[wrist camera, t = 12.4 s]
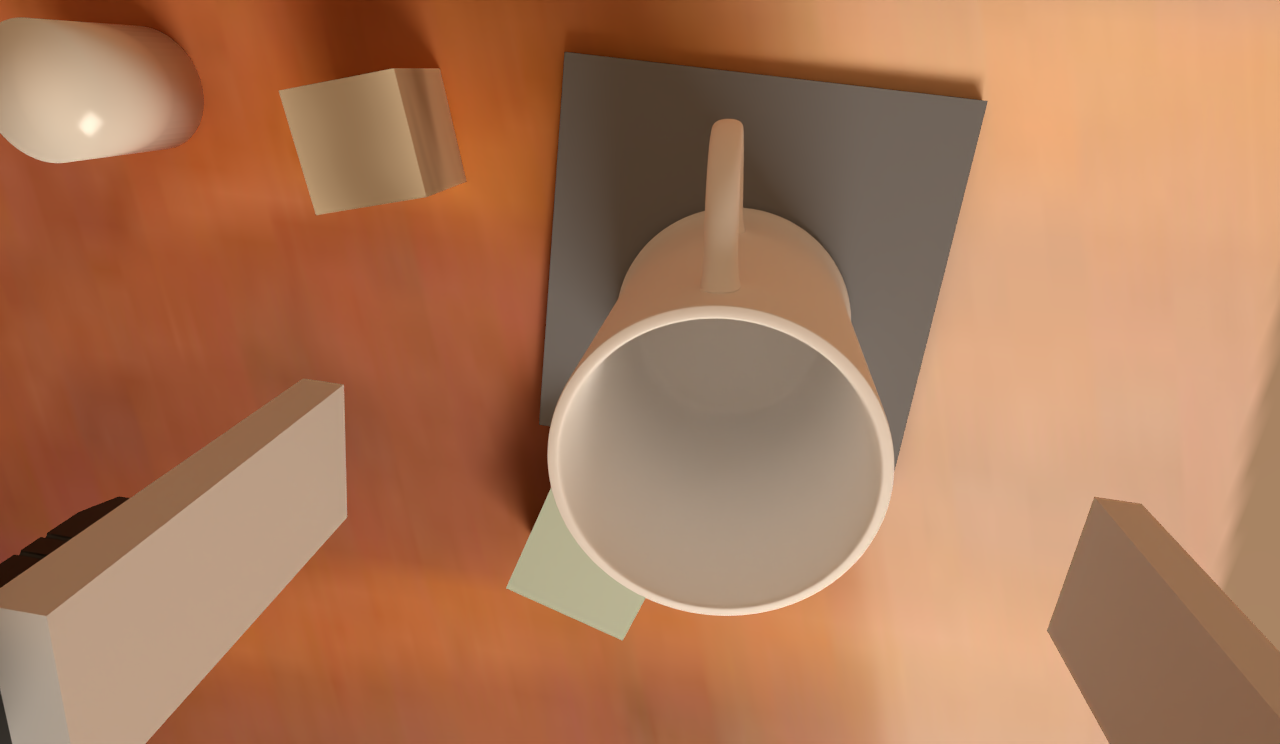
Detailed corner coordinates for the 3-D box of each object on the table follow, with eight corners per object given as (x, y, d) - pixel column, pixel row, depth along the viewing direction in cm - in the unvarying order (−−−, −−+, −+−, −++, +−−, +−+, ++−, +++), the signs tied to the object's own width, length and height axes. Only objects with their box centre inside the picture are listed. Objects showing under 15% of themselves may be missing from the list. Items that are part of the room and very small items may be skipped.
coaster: (542, 418, 33) (538, 424, 32) (568, 52, 28) (564, 51, 27) (889, 473, 32) (891, 480, 31) (982, 100, 27) (987, 101, 26)
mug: (631, 99, 27) (544, 118, 16) (885, 119, 27) (977, 154, 15) (611, 414, 32) (531, 599, 21) (830, 441, 31) (871, 649, 20)
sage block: (533, 533, 35) (506, 588, 31) (574, 440, 33) (551, 487, 30) (637, 580, 35) (622, 640, 32) (684, 490, 33) (674, 543, 30)
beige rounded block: (103, 142, 31) (-11, 154, 27) (86, 19, 30) (-37, 10, 25) (208, 155, 31) (112, 171, 26) (198, 32, 29) (93, 25, 25)
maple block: (369, 197, 31) (316, 215, 27) (338, 87, 29) (278, 90, 26) (467, 181, 30) (426, 197, 26) (440, 68, 29) (393, 68, 25)
